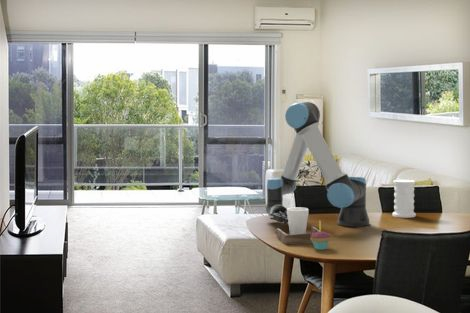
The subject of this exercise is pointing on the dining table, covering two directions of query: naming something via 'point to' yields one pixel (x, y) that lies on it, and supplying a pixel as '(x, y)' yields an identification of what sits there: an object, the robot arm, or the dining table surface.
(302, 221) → the foam cup
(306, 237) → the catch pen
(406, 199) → the decorative container
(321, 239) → the cupcake
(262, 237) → the dining table surface
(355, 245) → the dining table surface
